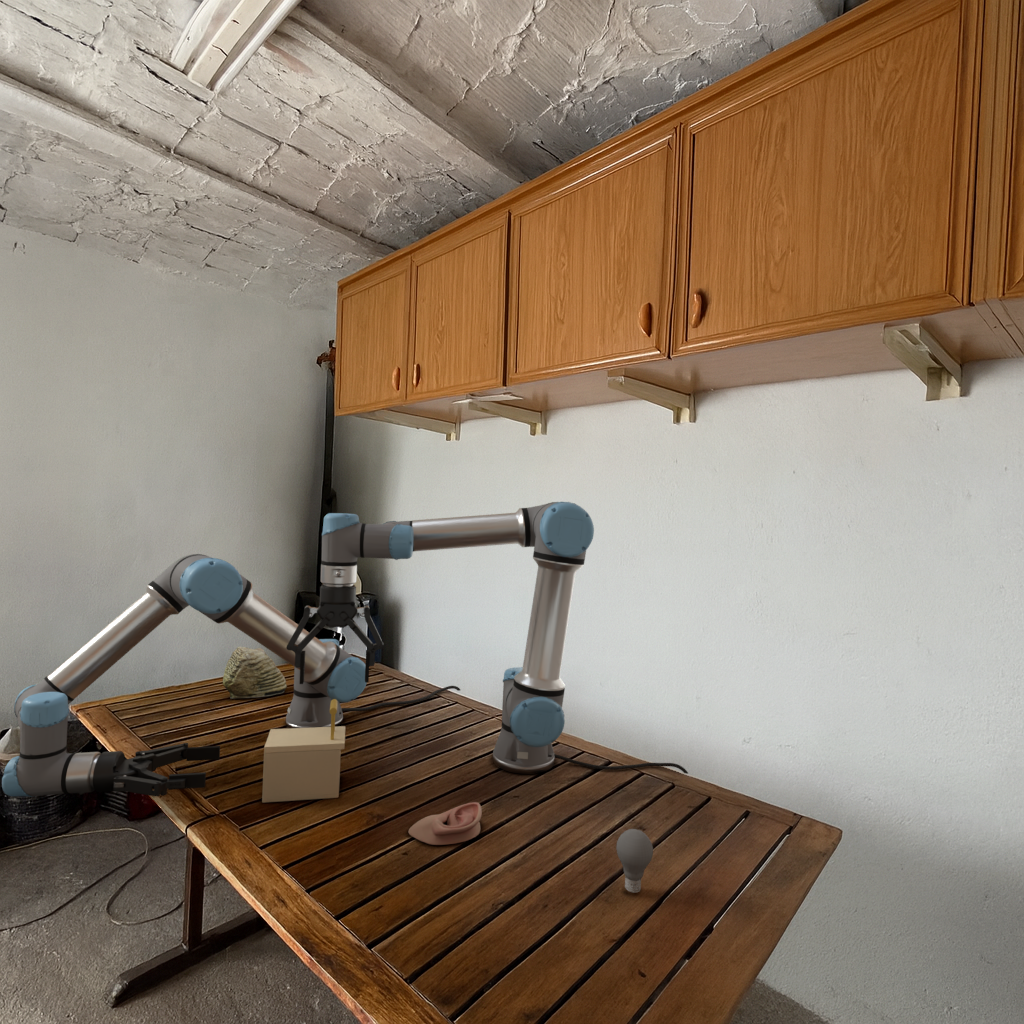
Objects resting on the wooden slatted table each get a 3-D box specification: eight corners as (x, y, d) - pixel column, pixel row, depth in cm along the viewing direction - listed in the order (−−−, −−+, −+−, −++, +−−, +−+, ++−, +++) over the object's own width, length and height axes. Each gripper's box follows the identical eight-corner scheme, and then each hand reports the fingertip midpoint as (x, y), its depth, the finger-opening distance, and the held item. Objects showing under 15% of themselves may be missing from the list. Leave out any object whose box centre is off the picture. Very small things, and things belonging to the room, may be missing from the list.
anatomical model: (402, 819, 118) (423, 791, 129) (402, 840, 118) (422, 811, 129) (471, 829, 115) (486, 801, 126) (470, 851, 115) (486, 820, 126)
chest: (339, 776, 144) (341, 732, 143) (338, 797, 134) (340, 749, 134) (268, 781, 140) (270, 735, 140) (262, 802, 130) (264, 753, 130)
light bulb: (610, 879, 108) (613, 822, 108) (644, 879, 109) (647, 822, 109) (619, 902, 102) (622, 840, 102) (655, 901, 103) (658, 840, 103)
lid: (345, 731, 144) (346, 695, 143) (344, 749, 134) (346, 710, 134) (270, 734, 140) (271, 697, 140) (264, 753, 130) (265, 713, 130)
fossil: (218, 695, 195) (220, 647, 195) (278, 685, 208) (279, 640, 207) (228, 703, 189) (230, 653, 188) (289, 692, 201) (290, 645, 201)
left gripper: (120, 764, 139) (224, 759, 145) (70, 821, 115) (197, 812, 120) (121, 730, 139) (225, 726, 144) (71, 780, 115) (198, 773, 120)
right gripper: (275, 586, 131) (271, 688, 131) (397, 587, 137) (393, 684, 137) (279, 581, 138) (276, 678, 138) (395, 582, 144) (391, 675, 144)
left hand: (212, 765), depth 132 cm, fingers open, 13 cm apart
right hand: (334, 681), depth 138 cm, fingers open, 13 cm apart
